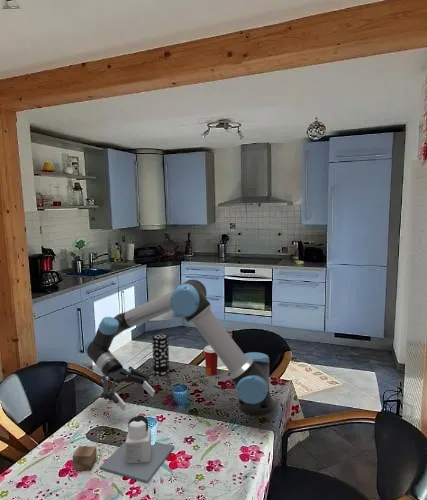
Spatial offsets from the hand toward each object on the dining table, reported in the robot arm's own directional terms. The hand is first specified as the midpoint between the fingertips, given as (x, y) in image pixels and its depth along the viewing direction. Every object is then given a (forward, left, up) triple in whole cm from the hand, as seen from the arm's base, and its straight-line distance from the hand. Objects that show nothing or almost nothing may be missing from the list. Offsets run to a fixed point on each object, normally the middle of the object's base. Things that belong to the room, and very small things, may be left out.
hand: (139, 400), depth 135 cm
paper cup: (-6, -59, -14) cm, 61 cm away
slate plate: (-7, +12, -13) cm, 19 cm away
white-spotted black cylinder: (+19, -50, -14) cm, 55 cm away
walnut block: (+8, +21, -14) cm, 26 cm away
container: (-7, +12, -13) cm, 19 cm away
